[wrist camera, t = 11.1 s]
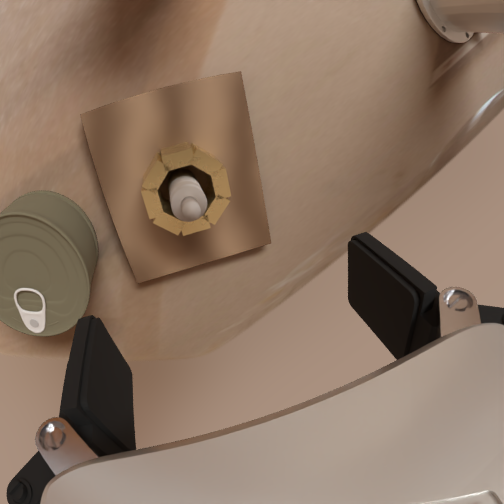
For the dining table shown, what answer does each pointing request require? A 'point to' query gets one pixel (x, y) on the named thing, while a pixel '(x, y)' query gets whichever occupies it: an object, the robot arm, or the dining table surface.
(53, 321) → the can
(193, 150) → the ring
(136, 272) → the post block
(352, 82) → the dining table surface
